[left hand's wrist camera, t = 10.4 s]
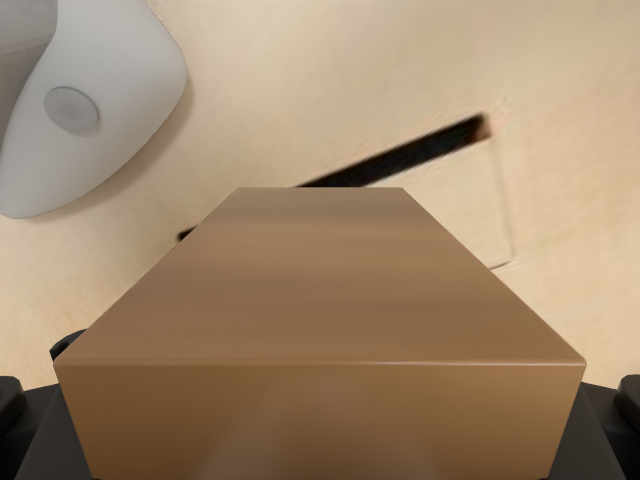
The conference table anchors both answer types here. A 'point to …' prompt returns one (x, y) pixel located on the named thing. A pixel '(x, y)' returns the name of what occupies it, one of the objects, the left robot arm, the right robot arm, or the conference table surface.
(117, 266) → the conference table surface
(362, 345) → the box
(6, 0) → the projector
